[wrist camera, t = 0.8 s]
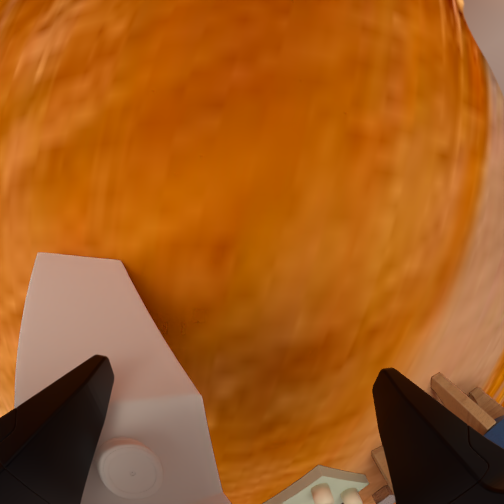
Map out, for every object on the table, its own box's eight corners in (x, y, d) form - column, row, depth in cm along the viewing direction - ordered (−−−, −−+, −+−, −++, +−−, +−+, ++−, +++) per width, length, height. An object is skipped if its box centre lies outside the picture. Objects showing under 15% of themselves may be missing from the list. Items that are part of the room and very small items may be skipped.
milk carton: (113, 334, 23) (219, 533, 8) (38, 331, 18) (79, 561, 4) (121, 259, 21) (264, 470, 7) (37, 250, 17) (26, 513, 2)
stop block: (386, 496, 32) (391, 504, 30) (371, 495, 31) (376, 504, 29) (399, 486, 32) (404, 495, 29) (384, 485, 31) (390, 494, 29)
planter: (368, 410, 27) (481, 584, 1) (485, 340, 27) (614, 427, 1) (372, 482, 30) (432, 597, 4) (467, 426, 31) (546, 508, 5)
